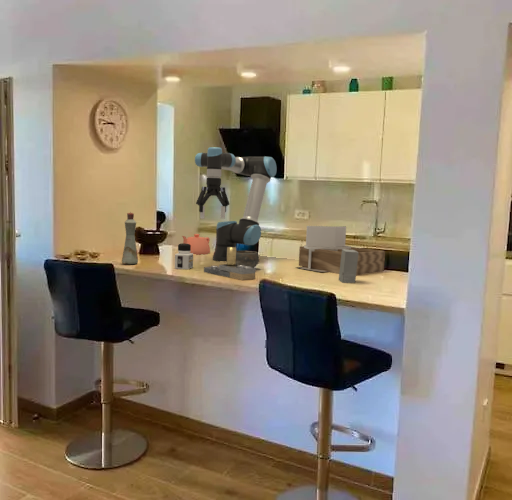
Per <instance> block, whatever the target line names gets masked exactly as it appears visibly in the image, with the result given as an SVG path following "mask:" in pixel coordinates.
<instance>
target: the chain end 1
mask: <svg viewBox="0 0 512 500" xmlns="http://www.w3.org/2000/svg"><path fill="white" fill-rule="evenodd" d="M203 272H204V273H207V274H211V275H216V276H222V277H226V278H230V272H227V271H223V270H219V265H210V266H205V267H203ZM230 279H231V278H230Z"/></svg>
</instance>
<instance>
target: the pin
mask: <svg viewBox="0 0 512 500" xmlns="http://www.w3.org/2000/svg"><path fill="white" fill-rule="evenodd" d="M236 250H237V246H236V247H227V262H226V264H227V266H236ZM227 272H228V271H227Z"/></svg>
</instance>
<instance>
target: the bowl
mask: <svg viewBox="0 0 512 500" xmlns="http://www.w3.org/2000/svg"><path fill="white" fill-rule="evenodd" d="M259 258H260V256H259V253H258V251H255V250H253V251H252V250H237V251H236V265H245V266H250V267H252V268H256V267H257V266H258V264H259V262H260V259H259Z"/></svg>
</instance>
